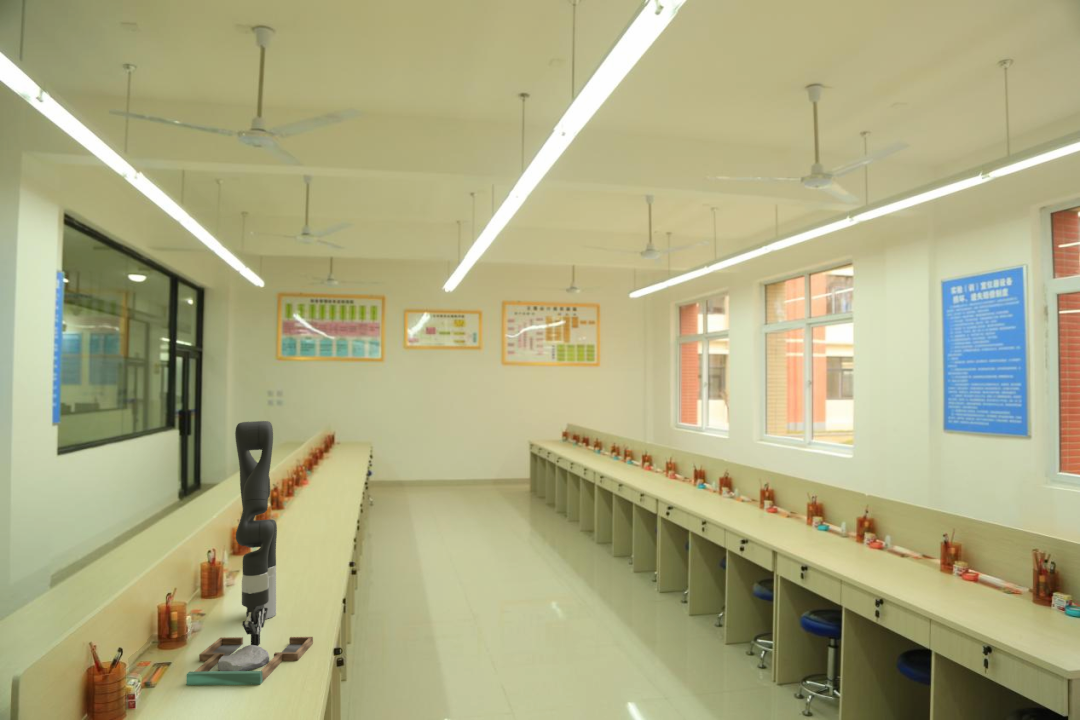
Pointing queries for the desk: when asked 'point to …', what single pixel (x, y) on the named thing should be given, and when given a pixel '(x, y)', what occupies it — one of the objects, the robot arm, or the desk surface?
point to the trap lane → (226, 648)
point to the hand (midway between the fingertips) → (255, 645)
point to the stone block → (244, 659)
